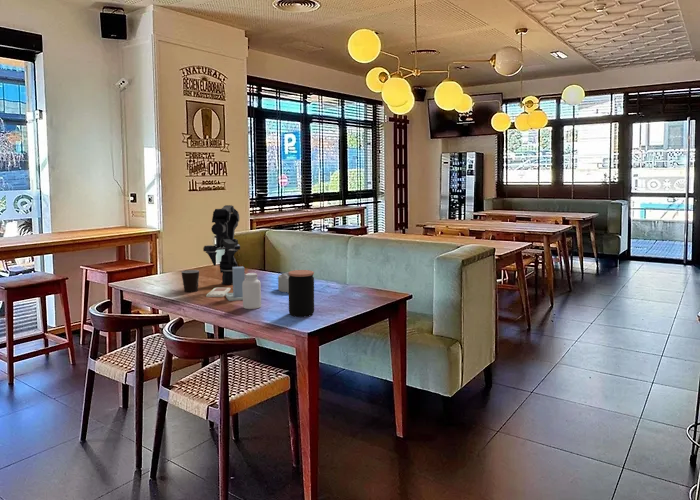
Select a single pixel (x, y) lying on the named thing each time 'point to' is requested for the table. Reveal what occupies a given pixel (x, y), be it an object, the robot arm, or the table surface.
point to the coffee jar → (301, 293)
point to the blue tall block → (238, 281)
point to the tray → (232, 297)
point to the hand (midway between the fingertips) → (222, 264)
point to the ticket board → (218, 292)
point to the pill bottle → (251, 291)
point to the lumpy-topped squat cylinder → (283, 282)
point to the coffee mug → (190, 280)
